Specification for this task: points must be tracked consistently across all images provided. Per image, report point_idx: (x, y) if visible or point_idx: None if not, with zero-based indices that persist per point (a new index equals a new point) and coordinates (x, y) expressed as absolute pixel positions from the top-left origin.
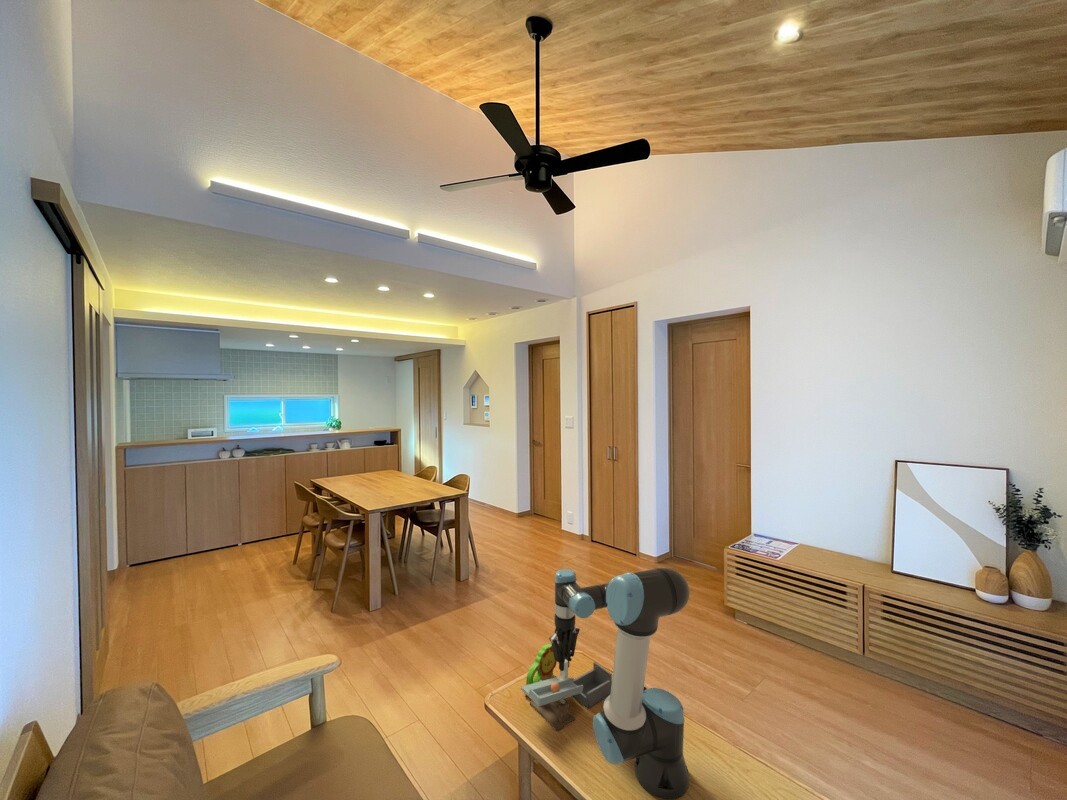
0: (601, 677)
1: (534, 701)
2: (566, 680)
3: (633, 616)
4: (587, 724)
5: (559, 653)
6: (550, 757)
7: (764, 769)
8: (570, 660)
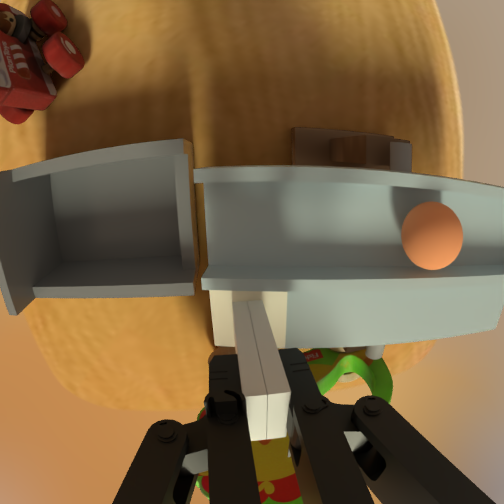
0: (28, 233)
1: None
2: (280, 278)
3: None
4: (260, 77)
5: (423, 475)
6: (449, 86)
7: None
8: (225, 393)
